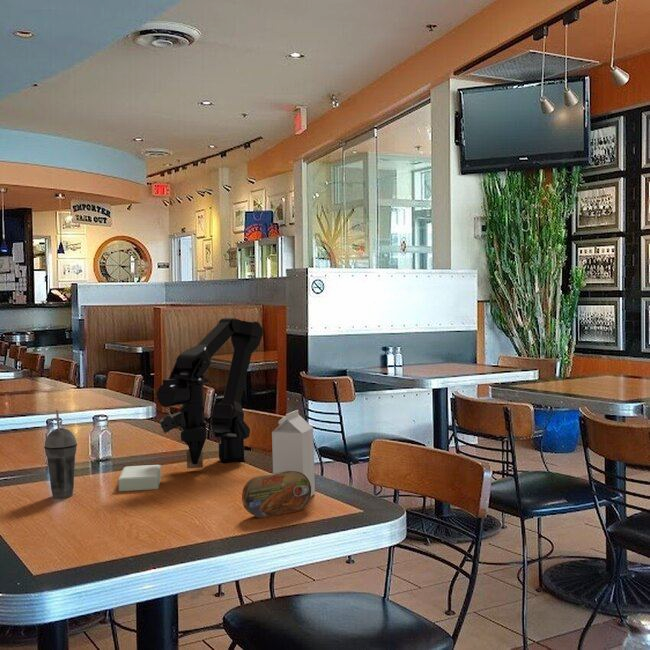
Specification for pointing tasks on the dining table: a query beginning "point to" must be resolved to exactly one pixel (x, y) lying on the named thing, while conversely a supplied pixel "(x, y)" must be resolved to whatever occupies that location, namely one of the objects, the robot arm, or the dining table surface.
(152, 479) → the plinth
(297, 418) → the milk carton
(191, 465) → the walnut block
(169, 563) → the dining table surface
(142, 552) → the dining table surface
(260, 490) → the tin
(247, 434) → the robot arm
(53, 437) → the beverage cup
